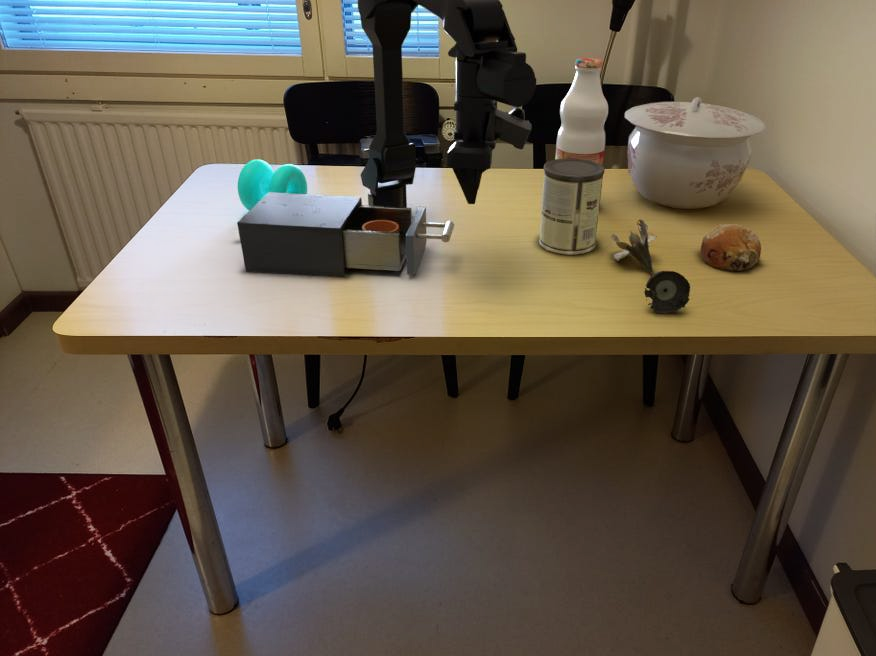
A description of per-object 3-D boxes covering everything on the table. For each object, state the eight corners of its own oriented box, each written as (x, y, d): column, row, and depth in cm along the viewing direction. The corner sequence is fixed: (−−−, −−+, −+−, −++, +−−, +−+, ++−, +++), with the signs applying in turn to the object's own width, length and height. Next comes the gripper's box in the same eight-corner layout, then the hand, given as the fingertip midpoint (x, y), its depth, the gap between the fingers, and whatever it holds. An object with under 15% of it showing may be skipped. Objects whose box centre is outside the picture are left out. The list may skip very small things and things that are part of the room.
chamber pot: (647, 226, 132) (665, 115, 121) (594, 181, 154) (605, 84, 143) (775, 217, 138) (803, 110, 127) (706, 175, 160) (725, 81, 149)
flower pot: (358, 247, 116) (356, 223, 114) (390, 240, 119) (389, 217, 117) (372, 260, 112) (370, 236, 110) (405, 253, 115) (404, 229, 112)
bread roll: (753, 275, 123) (763, 231, 122) (759, 274, 113) (769, 225, 112) (696, 267, 126) (705, 223, 124) (697, 264, 116) (707, 217, 115)
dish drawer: (456, 244, 121) (456, 207, 117) (447, 276, 110) (447, 237, 106) (341, 237, 122) (337, 201, 118) (320, 269, 111) (315, 230, 107)
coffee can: (549, 229, 130) (555, 154, 122) (602, 239, 126) (611, 163, 119) (529, 248, 122) (535, 170, 114) (585, 259, 119) (594, 179, 111)
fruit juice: (542, 203, 142) (552, 57, 127) (576, 195, 146) (590, 53, 131) (572, 217, 135) (587, 65, 120) (607, 209, 140) (625, 61, 125)
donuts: (284, 226, 128) (276, 173, 123) (239, 218, 131) (230, 166, 126) (312, 209, 136) (307, 158, 131) (269, 201, 139) (262, 152, 133)
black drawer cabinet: (364, 242, 123) (361, 196, 118) (344, 277, 111) (340, 228, 106) (275, 237, 124) (268, 192, 119) (245, 271, 112) (236, 222, 107)
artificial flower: (633, 321, 103) (623, 259, 99) (615, 273, 123) (605, 220, 119) (694, 309, 102) (685, 245, 98) (665, 262, 122) (657, 208, 118)
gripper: (528, 110, 92) (522, 220, 101) (531, 83, 108) (525, 180, 116) (446, 107, 93) (446, 216, 101) (461, 80, 109) (460, 177, 117)
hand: (473, 196), depth 109 cm, fingers open, 6 cm apart
